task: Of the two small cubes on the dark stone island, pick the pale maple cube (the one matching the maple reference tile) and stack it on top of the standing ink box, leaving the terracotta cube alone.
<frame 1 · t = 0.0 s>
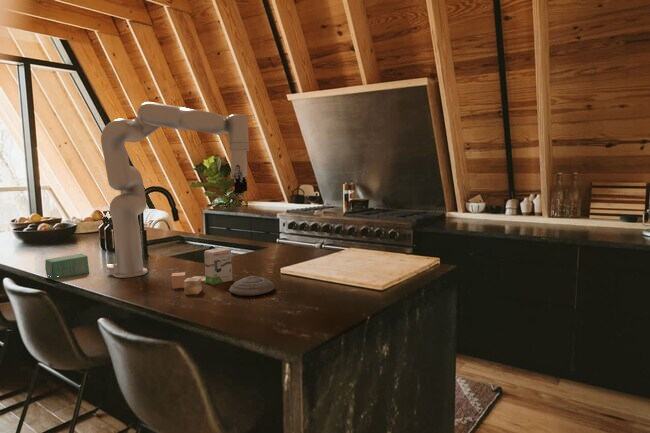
hand: (241, 192, 181), 31 cm above the table, fingers open, 9 cm apart
ink box: (219, 282, 170), on the table
box: (68, 276, 185), on the table
reference tile: (199, 279, 173), on the table
terracotta block: (179, 286, 165), on the table
maple block: (193, 292, 157), on the table
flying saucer: (252, 292, 156), on the table
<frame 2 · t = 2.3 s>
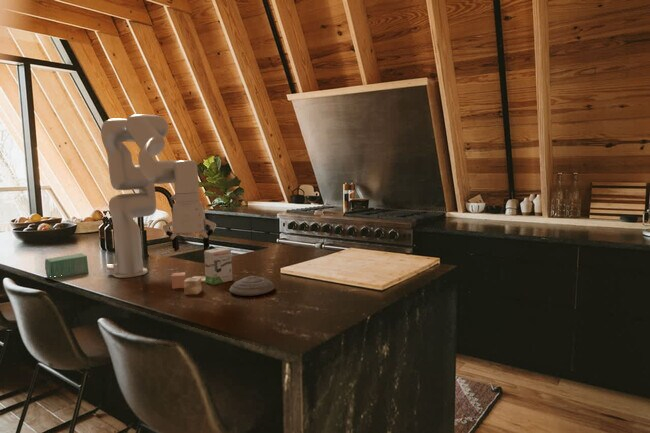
hand: (191, 249, 155), 14 cm above the table, fingers open, 9 cm apart
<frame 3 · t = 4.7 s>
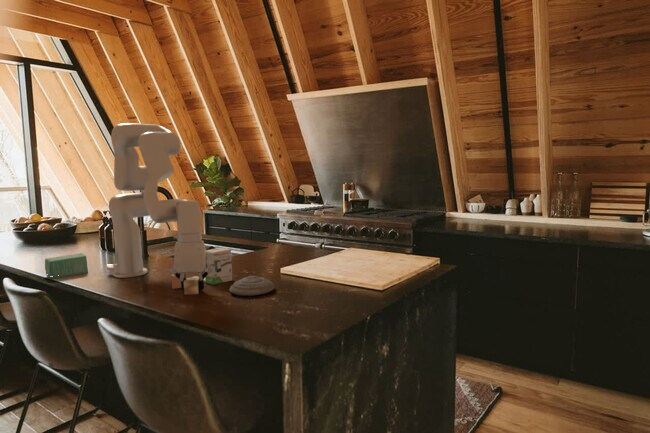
hand: (193, 291, 157), 0 cm above the table, fingers closed on maple block, 4 cm apart
maple block: (193, 292, 157), on the table, touching gripper
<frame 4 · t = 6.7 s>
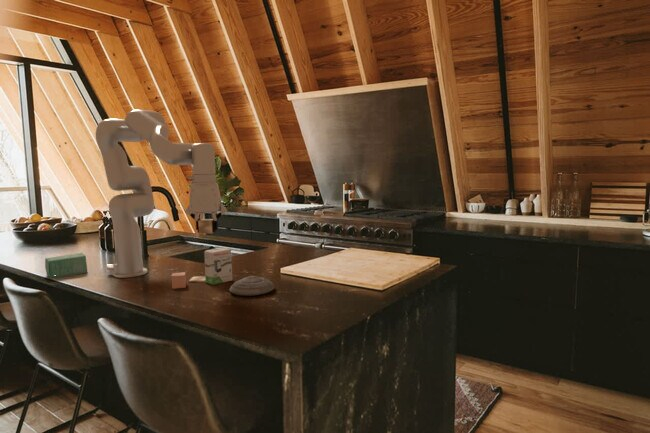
hand: (207, 231, 163), 19 cm above the table, fingers closed on maple block, 4 cm apart
maple block: (207, 232, 163), point 19 cm above the table, touching gripper
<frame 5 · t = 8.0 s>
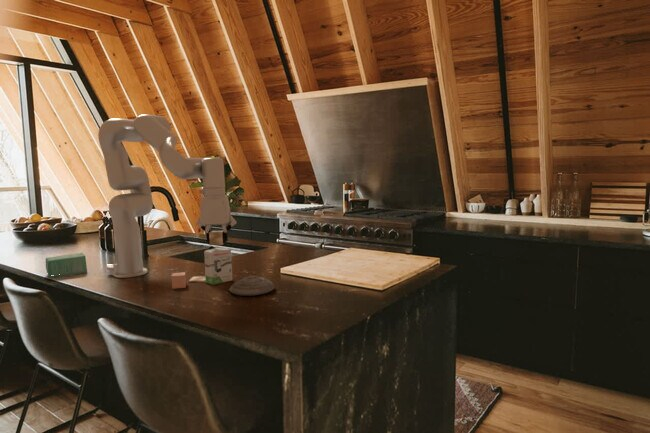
hand: (217, 242, 168), 14 cm above the table, fingers closed on maple block, 4 cm apart
maple block: (217, 244, 168), point 14 cm above the table, touching gripper
when the fingers open (13 cm above the table, at t = 9.0 s): maple block stays where it is, resting on ink box.
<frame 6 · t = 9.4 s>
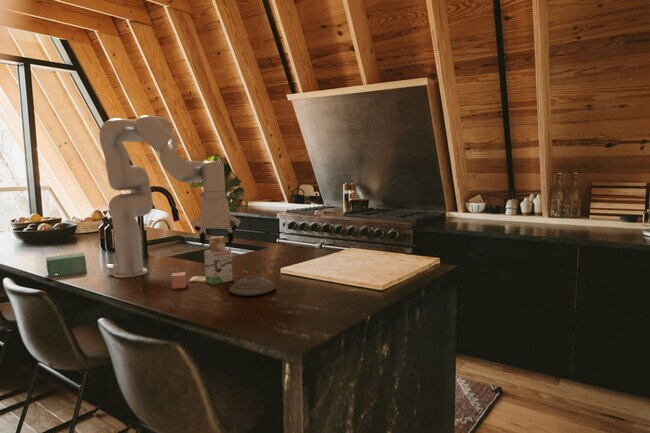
hand: (217, 243, 168), 14 cm above the table, fingers open, 9 cm apart
ink box: (219, 282, 170), on the table, touching maple block
maple block: (217, 249, 168), point 12 cm above the table, touching ink box
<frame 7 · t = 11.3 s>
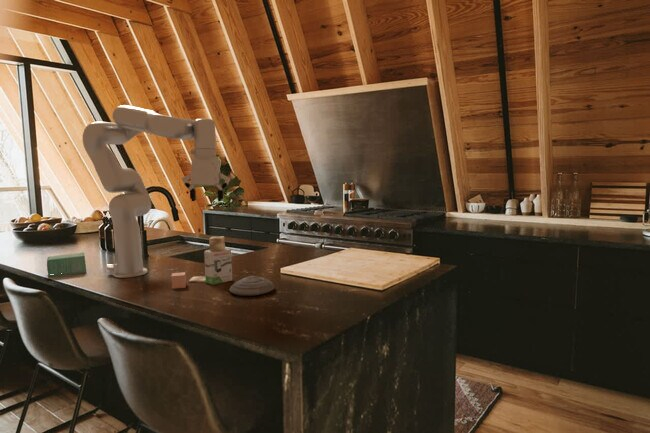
hand: (206, 200, 171), 29 cm above the table, fingers open, 9 cm apart
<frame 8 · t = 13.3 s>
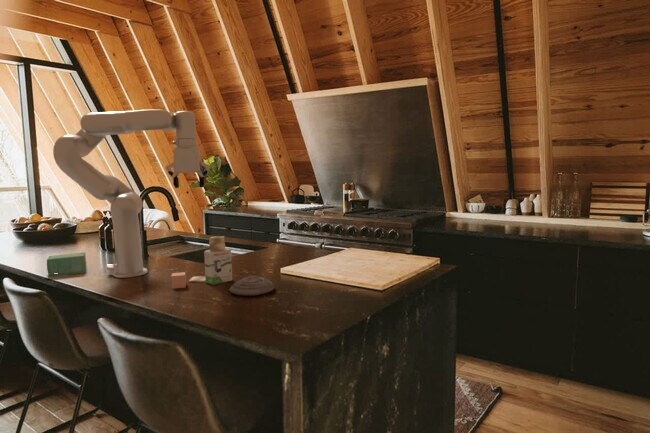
hand: (189, 187, 184), 33 cm above the table, fingers open, 9 cm apart
at the end: maple block inside the target area on the ink box (0.0 cm from its centre), point 12.0 cm above the ink box's base; maple block tilted 0°; terracotta block moved 0.1 cm from its start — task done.
